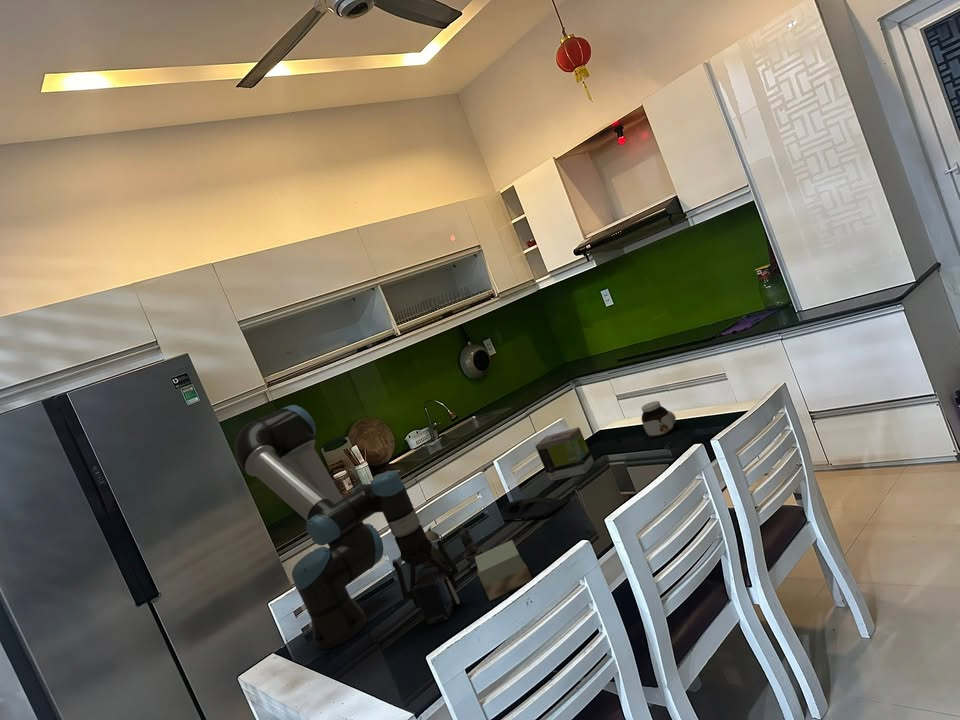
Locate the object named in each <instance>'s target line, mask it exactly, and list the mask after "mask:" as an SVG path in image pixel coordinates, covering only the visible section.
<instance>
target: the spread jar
mask: <svg viewBox="0 0 960 720" xmlns="http://www.w3.org/2000/svg"><path fill="white" fill-rule="evenodd" d="M640 409H641V411H642V414H641V423H642V426H643V428H644V430H645V432H646V434H647V435H648V436H649V437H651V438H654V439H657V438H658V439H659V438H663V437H665V436H667V435H669V434H670V433H671V432H672V431H673V429H674V425H675V424H676V418H677V417H676V414H674V413H673V412H672V411H671V410H668V409H667V408H665V407H663V406H661V403H660V401H659V400H654V401H651V402H648V403H645V404H644V405H642V406H641V408H640Z"/></svg>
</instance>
